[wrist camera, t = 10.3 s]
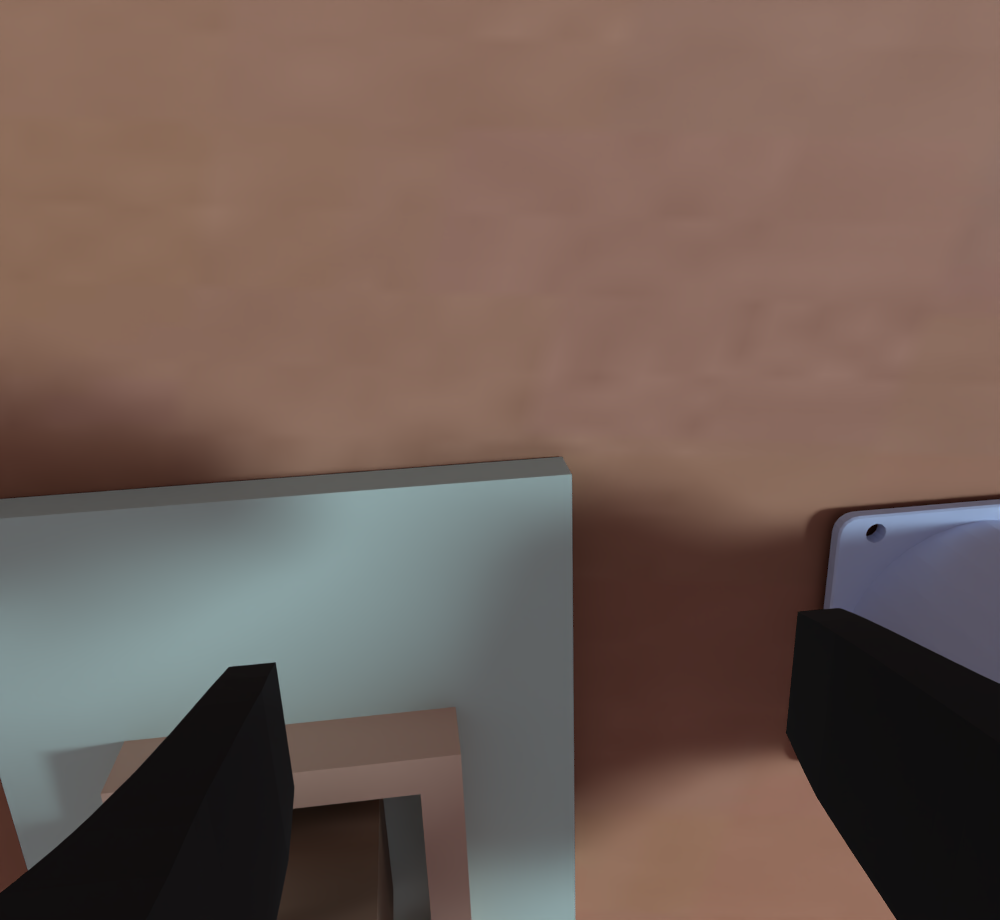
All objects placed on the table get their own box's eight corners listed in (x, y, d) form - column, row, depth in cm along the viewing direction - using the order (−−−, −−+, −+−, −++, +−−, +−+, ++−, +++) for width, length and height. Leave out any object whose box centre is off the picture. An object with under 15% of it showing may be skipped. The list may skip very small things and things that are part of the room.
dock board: (562, 456, 21) (588, 504, 18) (568, 1036, 27) (588, 1137, 25) (-47, 502, 19) (-123, 562, 16) (120, 1100, 26) (88, 1214, 23)
